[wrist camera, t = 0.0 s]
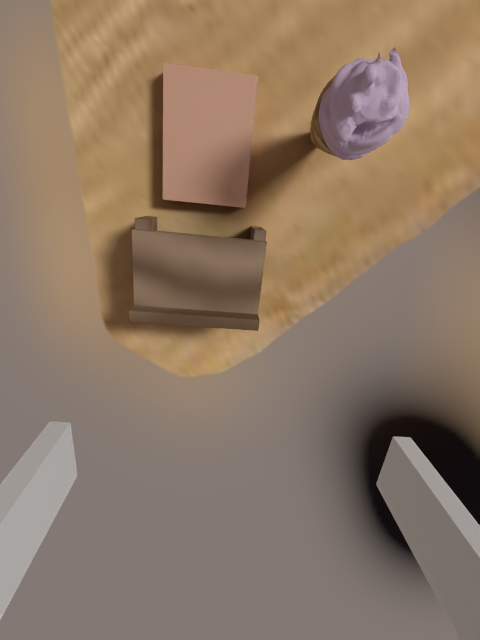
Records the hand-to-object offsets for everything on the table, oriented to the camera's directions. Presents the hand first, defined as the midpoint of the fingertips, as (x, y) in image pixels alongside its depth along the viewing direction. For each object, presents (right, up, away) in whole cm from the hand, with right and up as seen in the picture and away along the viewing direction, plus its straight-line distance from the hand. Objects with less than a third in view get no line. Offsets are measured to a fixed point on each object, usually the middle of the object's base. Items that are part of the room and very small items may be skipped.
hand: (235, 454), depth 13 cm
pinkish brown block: (-3, +25, +21) cm, 32 cm away
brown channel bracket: (-4, +12, +25) cm, 28 cm away
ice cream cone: (+9, +26, +21) cm, 34 cm away
